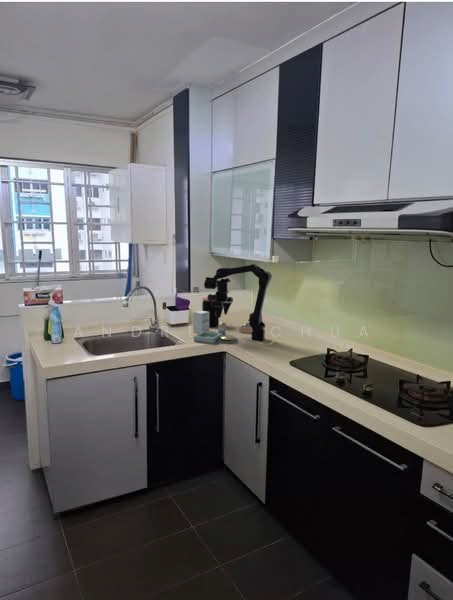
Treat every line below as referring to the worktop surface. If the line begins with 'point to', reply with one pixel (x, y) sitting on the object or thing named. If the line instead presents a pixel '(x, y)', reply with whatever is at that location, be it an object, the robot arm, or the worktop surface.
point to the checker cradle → (227, 341)
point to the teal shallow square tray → (207, 337)
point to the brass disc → (227, 337)
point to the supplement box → (200, 321)
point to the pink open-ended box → (245, 329)
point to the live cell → (222, 328)
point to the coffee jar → (210, 312)
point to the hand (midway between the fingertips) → (222, 316)
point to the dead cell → (246, 325)
